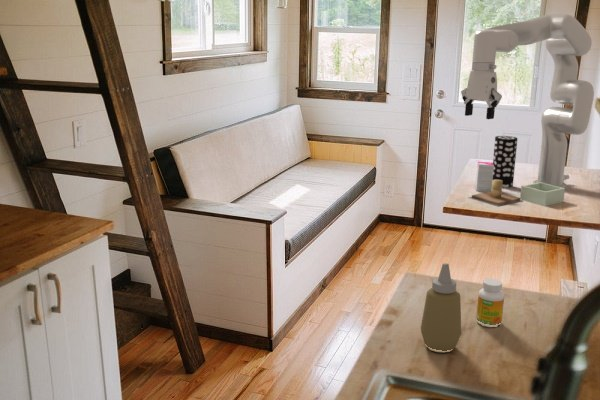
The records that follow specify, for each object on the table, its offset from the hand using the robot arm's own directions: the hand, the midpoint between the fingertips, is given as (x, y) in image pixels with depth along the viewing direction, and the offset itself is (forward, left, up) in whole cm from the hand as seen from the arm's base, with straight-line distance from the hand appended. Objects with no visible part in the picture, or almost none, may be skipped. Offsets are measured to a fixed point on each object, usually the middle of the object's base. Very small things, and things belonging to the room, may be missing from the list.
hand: (479, 117), depth 226 cm
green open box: (-21, +14, -31) cm, 40 cm away
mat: (-8, +4, -31) cm, 32 cm away
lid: (-8, +4, -30) cm, 31 cm away
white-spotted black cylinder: (-27, -9, -31) cm, 42 cm away
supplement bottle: (+71, +69, -31) cm, 104 cm away
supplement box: (-15, -8, -31) cm, 36 cm away
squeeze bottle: (+88, +71, -31) cm, 117 cm away
